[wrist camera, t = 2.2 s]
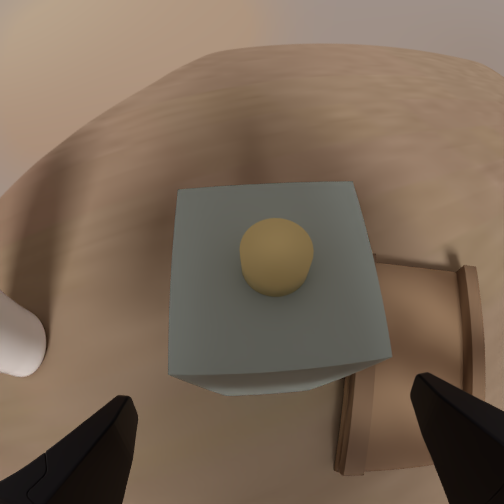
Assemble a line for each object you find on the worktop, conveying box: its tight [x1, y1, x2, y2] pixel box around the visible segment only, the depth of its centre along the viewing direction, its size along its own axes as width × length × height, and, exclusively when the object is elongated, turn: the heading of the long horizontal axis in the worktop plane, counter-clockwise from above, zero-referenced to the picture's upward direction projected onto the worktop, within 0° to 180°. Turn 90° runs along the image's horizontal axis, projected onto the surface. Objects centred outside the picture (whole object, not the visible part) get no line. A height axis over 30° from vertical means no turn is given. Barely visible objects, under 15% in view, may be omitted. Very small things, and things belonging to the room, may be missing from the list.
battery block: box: [168, 181, 392, 396], centre depth 13 cm, size 5×5×14 cm
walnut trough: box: [334, 254, 485, 476], centre depth 17 cm, size 14×10×2 cm
